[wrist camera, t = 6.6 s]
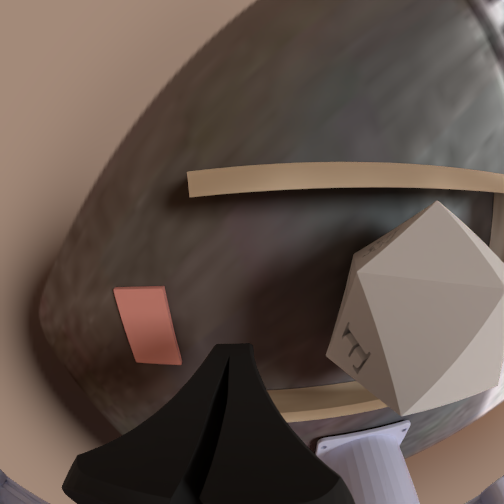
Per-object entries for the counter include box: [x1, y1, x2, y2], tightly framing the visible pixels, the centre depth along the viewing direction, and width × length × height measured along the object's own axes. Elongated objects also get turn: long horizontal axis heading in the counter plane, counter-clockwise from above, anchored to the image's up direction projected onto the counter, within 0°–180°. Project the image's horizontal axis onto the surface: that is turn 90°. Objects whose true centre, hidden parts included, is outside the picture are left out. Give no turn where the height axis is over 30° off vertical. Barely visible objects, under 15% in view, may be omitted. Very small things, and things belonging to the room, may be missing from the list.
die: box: [326, 201, 504, 416], centre depth 10 cm, size 8×9×10 cm
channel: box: [187, 162, 504, 422], centre depth 12 cm, size 14×18×3 cm
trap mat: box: [113, 286, 182, 365], centre depth 15 cm, size 5×3×1 cm, turn 4°
